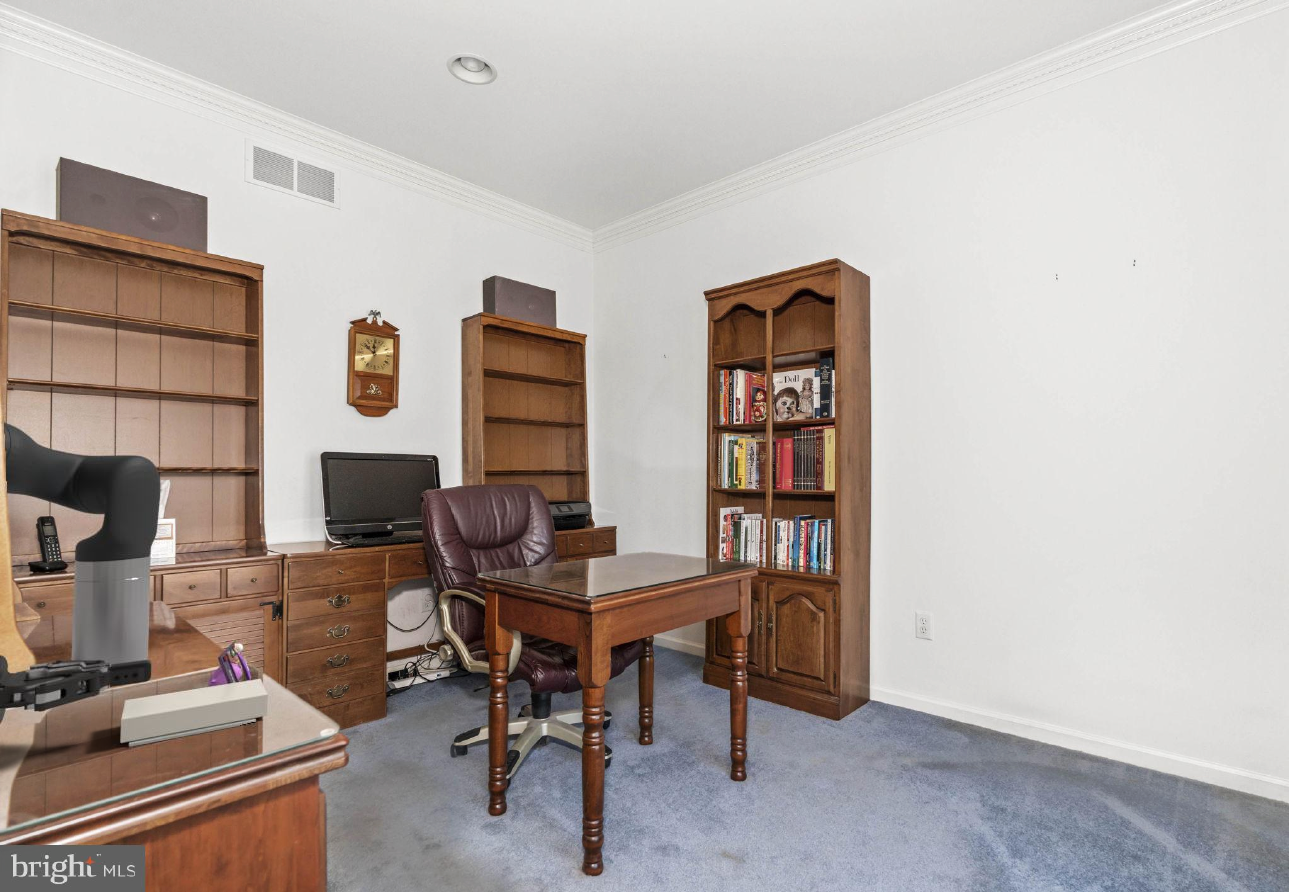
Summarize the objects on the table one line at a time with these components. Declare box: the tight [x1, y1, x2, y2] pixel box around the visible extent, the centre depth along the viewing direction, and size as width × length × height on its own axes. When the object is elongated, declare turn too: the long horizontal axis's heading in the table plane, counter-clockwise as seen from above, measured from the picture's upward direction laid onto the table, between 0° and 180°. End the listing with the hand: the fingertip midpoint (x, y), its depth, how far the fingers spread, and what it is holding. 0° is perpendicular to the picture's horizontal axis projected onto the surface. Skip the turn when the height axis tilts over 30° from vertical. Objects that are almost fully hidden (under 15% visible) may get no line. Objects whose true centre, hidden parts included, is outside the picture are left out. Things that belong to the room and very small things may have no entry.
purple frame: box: [208, 641, 252, 687], centre depth 89 cm, size 7×5×9 cm
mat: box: [128, 718, 257, 748], centre depth 79 cm, size 9×12×1 cm
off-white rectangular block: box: [120, 678, 268, 744], centre depth 79 cm, size 8×3×14 cm
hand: (150, 669), depth 77 cm, fingers closed
